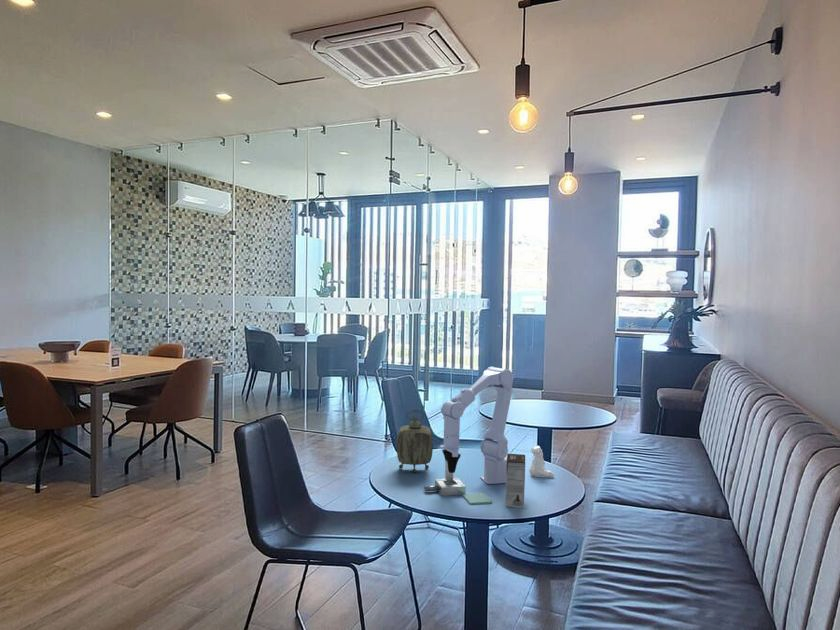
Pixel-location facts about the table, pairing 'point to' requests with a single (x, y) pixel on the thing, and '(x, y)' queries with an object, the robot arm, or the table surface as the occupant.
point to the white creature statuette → (539, 464)
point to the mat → (477, 498)
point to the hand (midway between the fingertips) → (450, 470)
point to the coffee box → (515, 480)
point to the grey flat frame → (447, 487)
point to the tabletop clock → (414, 443)
